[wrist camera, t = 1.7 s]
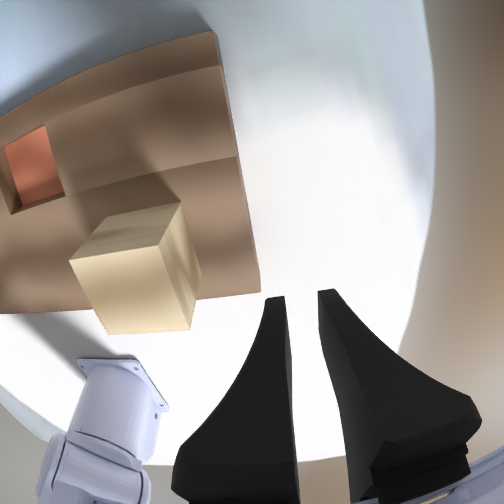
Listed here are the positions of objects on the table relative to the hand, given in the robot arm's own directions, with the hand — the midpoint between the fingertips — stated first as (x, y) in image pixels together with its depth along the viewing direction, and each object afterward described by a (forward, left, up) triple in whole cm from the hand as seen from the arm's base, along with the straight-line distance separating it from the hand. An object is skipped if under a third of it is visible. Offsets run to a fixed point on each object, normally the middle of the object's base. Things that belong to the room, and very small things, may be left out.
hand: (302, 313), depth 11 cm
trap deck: (+4, +20, -9) cm, 22 cm away
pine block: (0, +8, -7) cm, 11 cm away
